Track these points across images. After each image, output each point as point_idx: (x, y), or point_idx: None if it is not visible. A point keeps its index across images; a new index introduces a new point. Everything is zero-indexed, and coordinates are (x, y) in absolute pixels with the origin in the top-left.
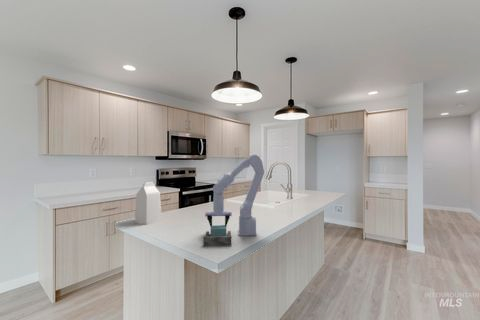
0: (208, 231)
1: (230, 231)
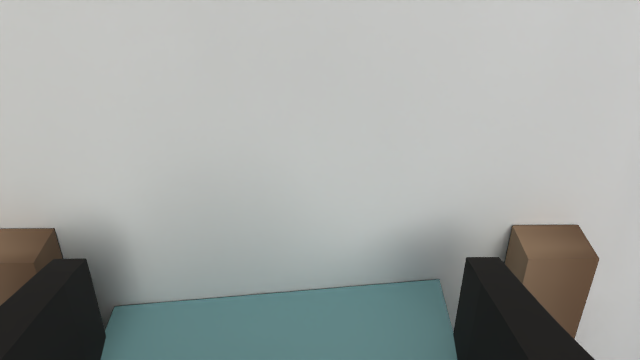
0: (18, 266)
1: (587, 291)
